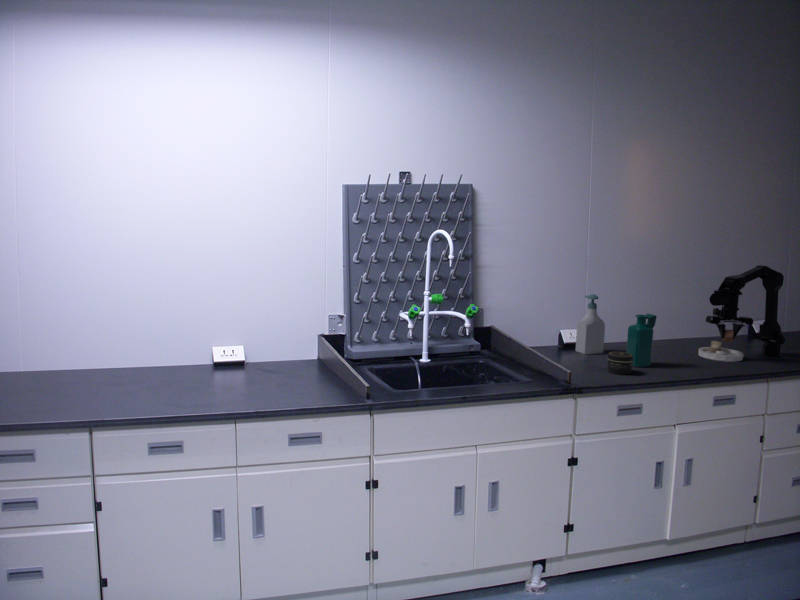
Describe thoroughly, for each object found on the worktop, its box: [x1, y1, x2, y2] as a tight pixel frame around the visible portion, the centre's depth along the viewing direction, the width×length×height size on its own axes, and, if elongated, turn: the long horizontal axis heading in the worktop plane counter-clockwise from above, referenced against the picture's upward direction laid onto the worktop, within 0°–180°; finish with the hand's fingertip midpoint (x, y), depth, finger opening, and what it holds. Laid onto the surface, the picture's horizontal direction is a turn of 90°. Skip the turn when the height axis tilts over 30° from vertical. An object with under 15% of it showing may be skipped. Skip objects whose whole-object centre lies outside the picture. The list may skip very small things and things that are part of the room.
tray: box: [697, 346, 745, 363], centre depth 290 cm, size 18×18×3 cm
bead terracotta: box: [721, 328, 734, 343], centre depth 284 cm, size 4×4×5 cm
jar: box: [606, 351, 633, 376], centre depth 258 cm, size 10×10×8 cm
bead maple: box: [710, 340, 723, 353], centre depth 295 cm, size 4×4×5 cm
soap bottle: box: [575, 293, 606, 355], centre depth 293 cm, size 11×8×27 cm
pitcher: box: [625, 313, 657, 368], centre depth 270 cm, size 10×8×22 cm
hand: (727, 338), depth 284 cm, fingers closed on bead terracotta, 4 cm apart
